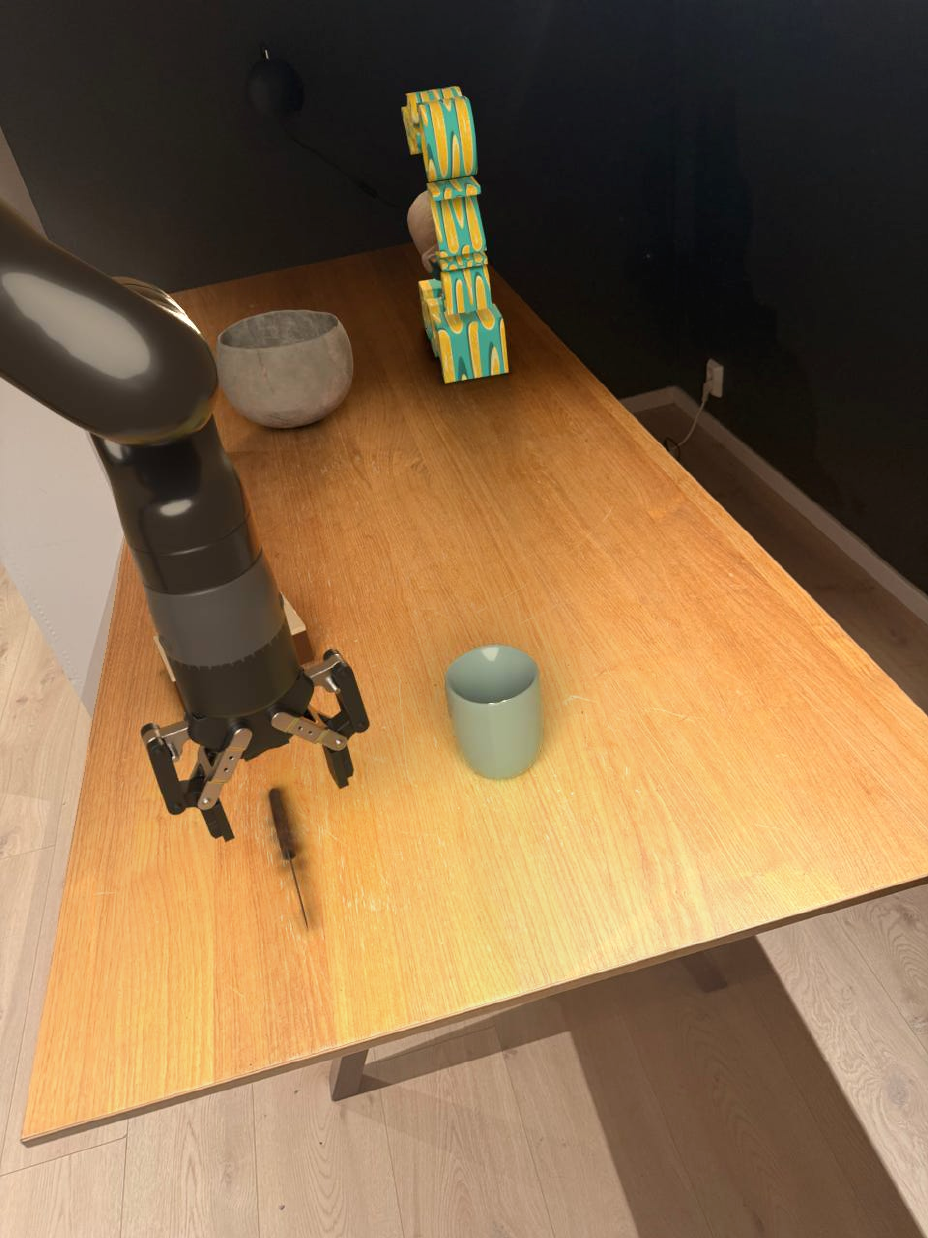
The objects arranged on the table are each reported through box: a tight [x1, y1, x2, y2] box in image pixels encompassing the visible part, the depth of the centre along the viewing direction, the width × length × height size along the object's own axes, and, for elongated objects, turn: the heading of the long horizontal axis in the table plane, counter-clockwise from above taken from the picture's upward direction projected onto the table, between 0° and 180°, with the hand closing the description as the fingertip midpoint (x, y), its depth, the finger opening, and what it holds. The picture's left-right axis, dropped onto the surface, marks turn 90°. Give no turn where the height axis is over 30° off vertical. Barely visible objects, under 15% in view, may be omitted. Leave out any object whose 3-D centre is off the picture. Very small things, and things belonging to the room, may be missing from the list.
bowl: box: [214, 309, 354, 429], centre depth 145 cm, size 20×20×15 cm
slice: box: [280, 590, 315, 666], centre depth 100 cm, size 4×8×4 cm, turn 28°
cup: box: [443, 644, 545, 781], centre depth 81 cm, size 8×8×10 cm
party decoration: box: [401, 85, 509, 384], centre depth 155 cm, size 31×12×40 cm, turn 9°
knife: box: [268, 788, 309, 933], centre depth 77 cm, size 16×1×2 cm, turn 19°
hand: (284, 806), depth 67 cm, fingers open, 8 cm apart
